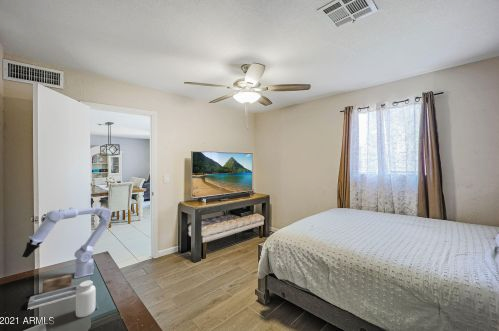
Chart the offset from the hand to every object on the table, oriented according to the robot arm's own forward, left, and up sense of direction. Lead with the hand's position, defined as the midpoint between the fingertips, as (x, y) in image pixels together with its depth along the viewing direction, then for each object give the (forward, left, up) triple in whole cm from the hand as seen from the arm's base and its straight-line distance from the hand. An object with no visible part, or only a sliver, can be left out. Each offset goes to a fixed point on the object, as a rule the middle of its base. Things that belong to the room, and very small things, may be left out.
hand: (25, 255), depth 114 cm
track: (-13, +12, -22) cm, 29 cm away
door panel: (-13, +4, -22) cm, 26 cm away
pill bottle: (-26, +32, -22) cm, 47 cm away
